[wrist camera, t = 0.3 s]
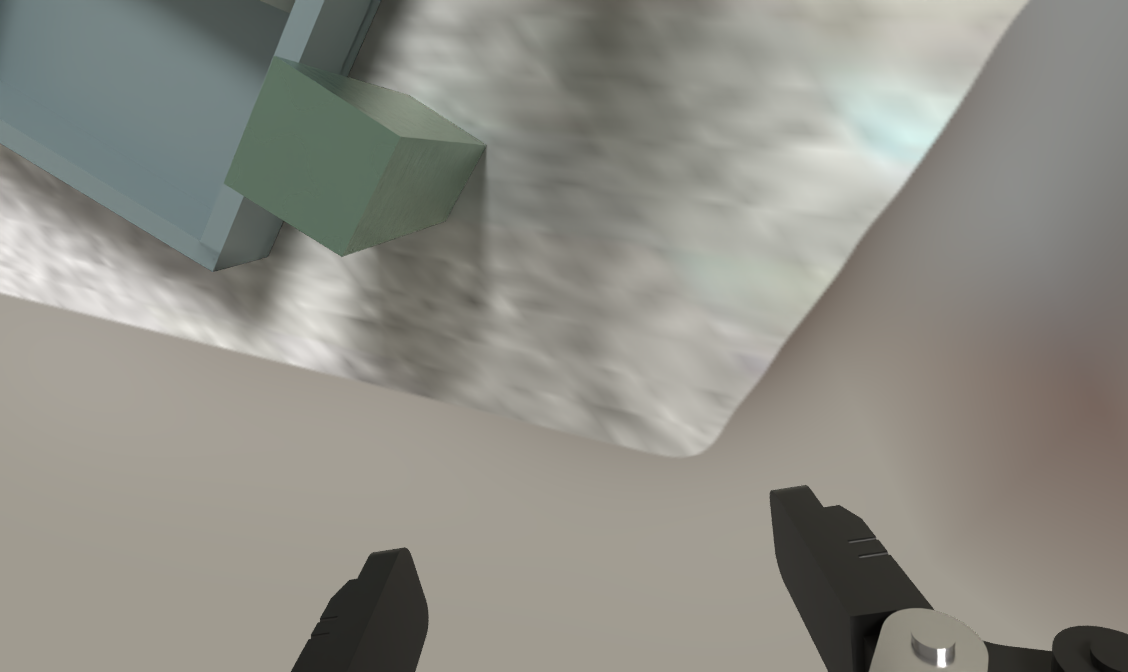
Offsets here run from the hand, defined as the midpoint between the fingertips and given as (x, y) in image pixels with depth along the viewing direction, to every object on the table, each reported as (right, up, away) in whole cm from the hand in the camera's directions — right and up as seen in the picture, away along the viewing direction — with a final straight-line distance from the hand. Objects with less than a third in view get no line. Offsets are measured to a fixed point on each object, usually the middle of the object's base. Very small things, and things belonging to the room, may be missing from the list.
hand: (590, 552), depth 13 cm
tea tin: (-8, +15, +20) cm, 27 cm away
